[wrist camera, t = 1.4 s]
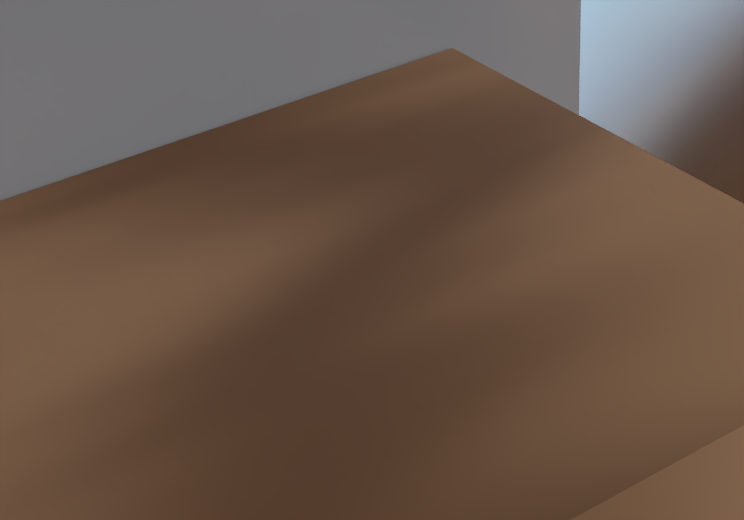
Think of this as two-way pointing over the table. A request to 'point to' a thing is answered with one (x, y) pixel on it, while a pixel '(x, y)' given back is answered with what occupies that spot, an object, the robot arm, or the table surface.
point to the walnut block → (376, 319)
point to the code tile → (233, 65)
